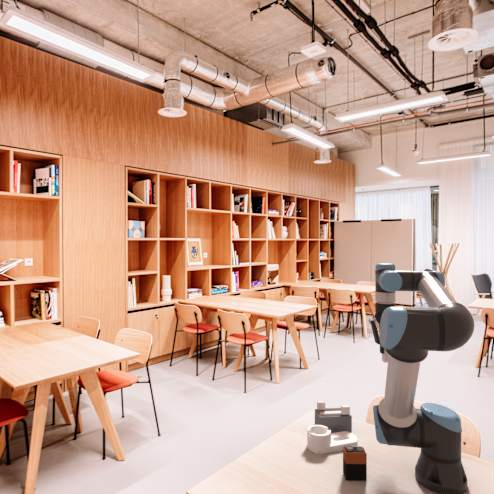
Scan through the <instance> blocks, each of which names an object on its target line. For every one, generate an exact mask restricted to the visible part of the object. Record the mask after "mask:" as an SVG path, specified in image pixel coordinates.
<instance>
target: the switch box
mask: <svg viewBox="0 0 494 494" xmlns="http://www.w3.org/2000/svg"><path fill="white" fill-rule="evenodd" d="M352 417H353V416H352V415H351V413H350V414H349V415H342V413H341V407H329V408H326V407H325V410H318V409H317V408H314V425H323V426H326V427H328V430H331V433H336V432H342V431H347V432H350V433H353V430H352V429H353V428H352V427H353V426H352V424H353V423H352V422H353V421H352V420H353V419H352Z"/></svg>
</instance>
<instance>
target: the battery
mask: <svg viewBox="0 0 494 494" xmlns="http://www.w3.org/2000/svg"><path fill="white" fill-rule="evenodd" d="M367 455H368V453H367V452H366V450H365V448H364V446H360V445H359V446H357V447H352V446H346V447H343V450H342V474H343V476H344V479H345V481H347V482H348V481H352V482H353V481H356V482H358V481H361V482H365V481H367V479H368V478H367V475H368V474H367V473H368V471H367V469H368V468H367V467H368V466H367Z"/></svg>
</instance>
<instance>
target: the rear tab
mask: <svg viewBox="0 0 494 494" xmlns="http://www.w3.org/2000/svg"><path fill="white" fill-rule="evenodd" d="M325 408H326V402H325V400H316V409H318V410H325Z"/></svg>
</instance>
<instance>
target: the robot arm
mask: <svg viewBox="0 0 494 494" xmlns="http://www.w3.org/2000/svg"><path fill="white" fill-rule="evenodd" d="M374 273H375V274H374V275H375V276H374V279H375V293H374V294H375V295H374V297H375V299H374V300H375V304H374V305H375V307H374V309H375V311H374V312H375V314H374V317H373V318H370V319H368V323H369V325H370V326H371V330H372V334H373V338H374V342H375V343H376V344H377V345H379V353H380V354H381V361H382V362H383V363H387V370H386V380H385V389H384V397H383V398H382V399H381V400H380V401H379V403H378V404H377V405H373V407H372V413H373V421H374V430H375V431H374V432H375V438H376V441H377V442H378V443H379V444H380V445H381V444H382V445H387V446H397V447H407V448H418V449H420V454H419V456H418V459H417V461H416V464H415V466H414V477H415V479H416V481H417V482H418V483H420V485H422V486H423V487H425V488H426V489H428V490H430V491H432V492H435V493H438V494H465V492H467V490H468V478H467V474H466V470H465V468H464V465H463V462H462V432H463V428H462V420H461V417H460V415H459V414H458V413H457V412H456V411H454V410H453V409H451V408H449V407H447V406H445V405H442V404H438V403H433V402H426V403H422V404H421V406H420V407H419V408H415V406H414V403H415V398H416V397H415V396H416V389H417V384H418V378H419V372H420V366H421V362H423V361H424V360H425V359H427V357H428V355H429V352H450V351H451V352H452V351H455V350H457V349H460V348H462V347H463V346H465V345H466V344H467V343H468V342H469V340H470V339H471V338H472V336H473V334H474V330H475V320H474V318H473V317H474V316H473V315H472V313H471V311H470V310H469V309H468V308H467V307H466V306H465V305H463V304H462V303H459V302H457V300H456V299H455V298H454V297H453V296H452V295H451V293H450V291H448V290H447V288H446V287H445V286H446V278H445V276H444V274H443V272H442V271H438V270H396V265H395V263H386V262H385V263H382V262H381V263H377V264H376V265H375V271H374ZM396 292H420V294H421V296H422V298H423V299H424V301H425V303H426V304H427V307H425V306H424V307H423V306H404V305H398V306H396V303H395V302H396ZM377 324H378V326H377ZM378 328H379V331H378Z"/></svg>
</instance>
